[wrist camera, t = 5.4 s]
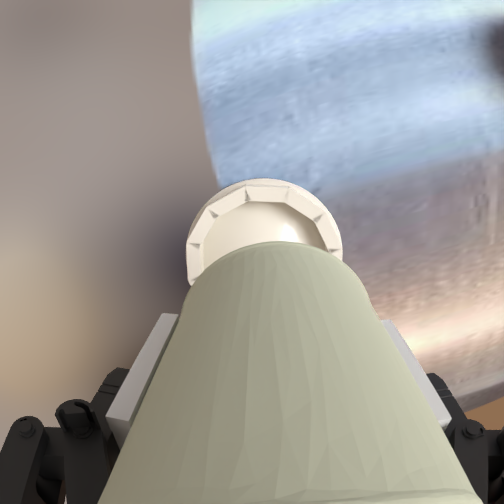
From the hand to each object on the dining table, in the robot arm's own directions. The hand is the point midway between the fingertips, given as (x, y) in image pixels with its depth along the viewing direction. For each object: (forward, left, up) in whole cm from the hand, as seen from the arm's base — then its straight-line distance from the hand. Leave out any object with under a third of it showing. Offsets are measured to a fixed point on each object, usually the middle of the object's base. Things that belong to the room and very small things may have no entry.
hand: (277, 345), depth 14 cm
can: (0, 0, -1) cm, 1 cm away
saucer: (+2, -1, -16) cm, 16 cm away
